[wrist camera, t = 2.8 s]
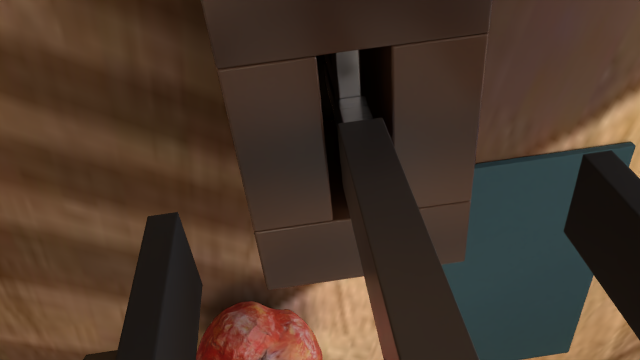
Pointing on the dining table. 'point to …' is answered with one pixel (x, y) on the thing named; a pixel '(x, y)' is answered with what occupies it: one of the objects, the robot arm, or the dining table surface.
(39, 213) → the dining table surface
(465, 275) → the mat
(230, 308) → the red round fruit
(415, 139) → the fork stand
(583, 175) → the robot arm
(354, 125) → the fork
